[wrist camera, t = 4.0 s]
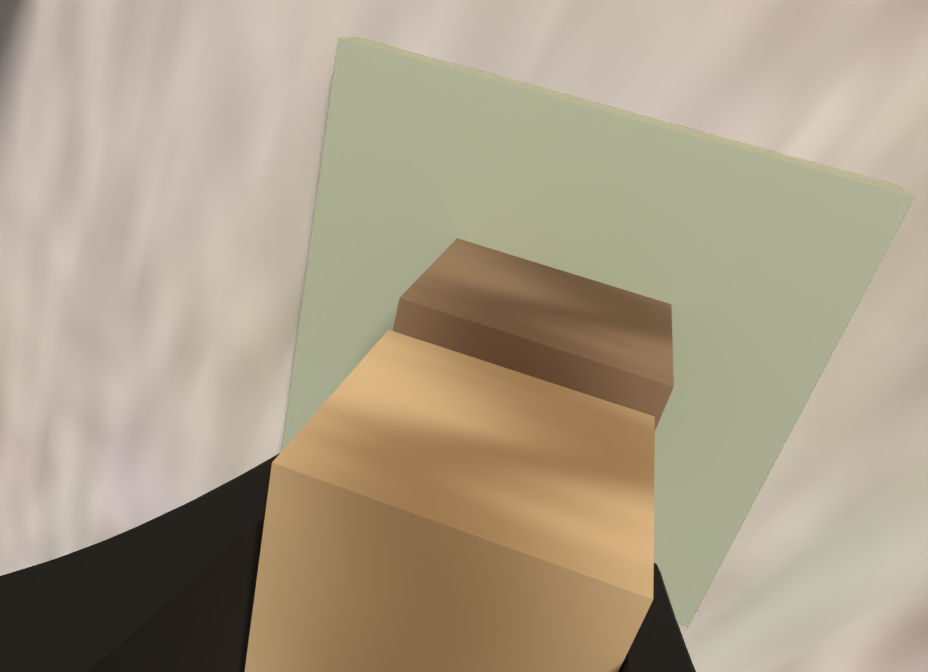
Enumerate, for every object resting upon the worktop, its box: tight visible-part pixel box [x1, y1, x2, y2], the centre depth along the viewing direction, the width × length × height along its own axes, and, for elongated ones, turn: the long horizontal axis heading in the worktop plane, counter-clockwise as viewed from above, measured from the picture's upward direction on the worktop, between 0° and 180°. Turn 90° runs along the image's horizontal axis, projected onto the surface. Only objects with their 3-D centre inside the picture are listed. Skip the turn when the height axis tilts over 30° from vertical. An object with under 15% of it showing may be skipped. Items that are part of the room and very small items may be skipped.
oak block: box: [245, 330, 655, 672], centre depth 11 cm, size 4×4×4 cm
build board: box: [281, 37, 915, 627], centre depth 17 cm, size 12×12×1 cm
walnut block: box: [393, 238, 674, 430], centre depth 15 cm, size 5×5×4 cm
